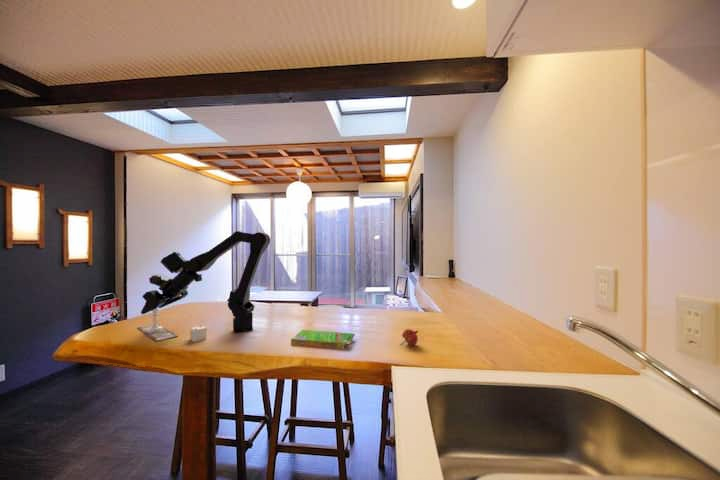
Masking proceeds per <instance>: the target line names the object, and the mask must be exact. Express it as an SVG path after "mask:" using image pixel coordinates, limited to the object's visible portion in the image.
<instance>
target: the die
mask: <svg viewBox="0 0 720 480" xmlns="http://www.w3.org/2000/svg"><path fill="white" fill-rule="evenodd" d="M189 329H190V331H189V332H190V333H189V334H190V336H189V337H190V338H189V339H190V340H191V341H192V343H195V342H199V341H203V340H204V341H205V340H207V333H208V332H207V329H208V328H207V327H206V326H204V325H198V326H194V327H190V328H189Z"/></svg>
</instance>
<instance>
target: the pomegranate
mask: <svg viewBox="0 0 720 480" xmlns="http://www.w3.org/2000/svg"><path fill="white" fill-rule="evenodd" d="M417 333H419V330H416V331H414V330H412V329H409V328H407V329H405V330H404V331H403V332H402V334H401V336H402V338H403V339H404V341H403V342H402V343H401V344H400V346H403V344H405V343H407V344H408V346H409V347H414V346H416V345H417V343H418V340H419V338H418V334H417Z"/></svg>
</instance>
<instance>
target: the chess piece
mask: <svg viewBox="0 0 720 480" xmlns="http://www.w3.org/2000/svg"><path fill="white" fill-rule="evenodd" d="M158 311H159V307H158V308H156V309H154V310H152V311H151V312H152V314H151V317H152V322H151V323H152V324H151V325H152V326H151V327H149V328H148V329H147V332H156V331H160V330H162V329H163V328H164V327H163V326H162V325H160V326H158V325H159V324H158V320H157V316H159V314H158ZM162 327H163V328H162Z"/></svg>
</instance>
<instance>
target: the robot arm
mask: <svg viewBox="0 0 720 480" xmlns="http://www.w3.org/2000/svg"><path fill="white" fill-rule="evenodd" d="M240 243H247V244H249V255H248V257H247V258H248V259H247V260H246V261H247V262H246V263H245V267H244V269H243V272H242V274H241V278H240V280H239V283H238V287H236V288H235V289H232V290H231V291H230V292H229V297H228V299H227V300H226V302H227V307H228V308H229V310H230V311H231V313H232V316H233V318H232V330H233V331H234V333H242V332H244V333H245V332H251V331H254V327H253V321H254V320H253V315H254V314H253V311H254V310H255V307H256V306H255V305H254V304H253V303H252V302H251V301H250V296H251V286H252V283H253V280H254V277H255V275H256V271H257V269H258V267H259V264H260V260H261V258H262V256H263V254H264V253H265V251H267V249H268V247H269V245H270V243H271V237H270V235H269V234H268V233H267V232H266V233H265V232H261V231H259V232H255V233H248V232H244V231H242V230H241V231H240V230H239V231H234V232H233V233H232V234H231V235H230V236H228V237H227V238H225V239H224V240H222V241H220V243H218V244H217V245H216V246H214V247H212V248H210V250H208V251H206V252H203V253H201V254H198V255H195V256H193V257H192V258H191V259H189V260H186V259H185V258H184V257H183V255H181V254H180V252H179V251H172V253H170V254H168V255H166V256H164V257H163V258H161V259H160V263H161V265H162V266H164V268H166V269H167V270H168V271H169V272H170V273H171V274H174V273H175V274H177V275H175V276H174V277H173V278H171V277H170V276H167V275H165V274H163V273H156V274H153V275H151V276H150V277H149V278H148V280H149V284H151V285H155V286H157V287H158V290H159V291H161V293H160V292H159V291H158V290H155V289H154V290H149V291H146V292H145V293H143V294H142V298H143V299H144V300H145V304H144V305H143V307H142V309H141V311H140V313H141V314H142V315H145V314H147V313H150V312H152V310H154V309H156V308H158V309H161V308H164V307H166V306H169V305H170V304H174V303H177V302H178V301H180V300H182V299H184V298H186V297H187V296H188V295H189V291H188V288H189V285H190V284H192V283H193V282H194V281H195V282H197V283H198V282H201V281H203V277H202V275H203V274H202V273H200V272H204V271H207V270H209V269H210V268H212V266H213V265H215V263H216V262H217V260H218V259H219V258H220V257H222V256H223V255H225V254H227V252H229V251H231V250H232V249H233V248H234V247H236V246H238V245H239V244H240Z"/></svg>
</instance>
